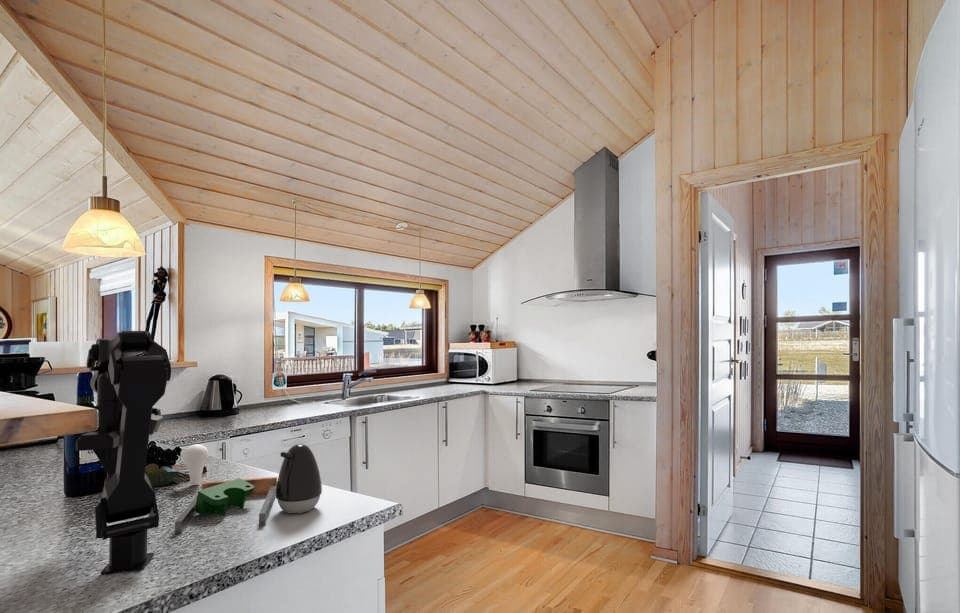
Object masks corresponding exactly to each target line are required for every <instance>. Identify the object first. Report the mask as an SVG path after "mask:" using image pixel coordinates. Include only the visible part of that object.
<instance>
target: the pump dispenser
mask: <svg viewBox="0 0 960 613" xmlns="http://www.w3.org/2000/svg"><path fill="white" fill-rule="evenodd" d="M280 457H281V458H283V461H282V463H281V466H280V470H279V473H278V476H277V487H276V497H275V499H276V500H277V503H278V505H279V507H280V509H281V510H282V511H283V512H285V513H287V514H288V513H289V514H292V513H293V514H294V515H296V514H295V513H299V514H304V513H307V512H309V511H311V510H312V509H314V508H315V507H316V506H317V504H318V503H319V500H320V497H321V495H322V493H323V487H322V479H321V474H320V469H319V465H318V462H317V459H316V457H315V455H314V452H313V451H312V449H311V448H310V447H309V446H308V445H306V444H303V443H299V444H295V445H293V446H291V447H290V448H289V449H288V451H287V452H286V451H285V452H284V451H282V452H280ZM303 512H304V513H303ZM293 514H292V515H293Z"/></svg>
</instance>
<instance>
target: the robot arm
mask: <svg viewBox="0 0 960 613" xmlns="http://www.w3.org/2000/svg"><path fill="white" fill-rule="evenodd" d="M141 353H145V355H139V354H141ZM86 358H87V359H86V364H85V365H86V369H88V371H89V372H95V373H94V374H93V375H92V376H91V379H90V381H89V382H90V383H89V384H90V388H91V390H92V391H93V392H94V393H95V394H96V405H94V406H92V409H93V408H97V409H98V410H99V428H98V430H96V431H93V432H92V431H89V432H87V433H84V434H81V435H80V436H79V437H78V438H77V439H76V440H75V451H77V452H80V451H81V452H82V451H93V452H94V454H95V456H96V457H97V458H98V460H99V462H100V464H101V465H102V467H103V469H104V470H105V472H106V474H107V476H106V477H105V479H104V486H103V489H102V497H100V498H99V499H98V502H97V505H96V506H95V507H94V521H95V538H96V539H102V541H106V540H107V539H109V541H108V542H109V544H108V545H109V548H108V553H109V554H108V563H106V565H105V566H104V567H103V569H101V571H100V575H110V574H117V573H127V572H134V571H135V572H136V571H137V572H139V571H142V570H144V569H145V567H146V566H147V565H148V564H149V562H150V561H151V560H152V559H153V558H154V557H155V556H154V555H155V553H154V552H149V553H148V530H150V529H157V528H159V522H160V513H159V509H158V504H157V498H156V497H157V496H156V493H155V489H154V488H153V487H152V484H151V482H150V479H149V477H148V475H147V474H146V467H147V458H148V449H149V439H150V436H153V434H155V433H157V432H158V430H159V428H160V425H161V424H162V423H163V422H164V416H163V415H162V413H161V409H160V408H157V407H155V405H156V404H157V403H158V402H159V401H160V400H161V399H162V397H164V395H165V393H166V388H167V382H170V380H171V376H172V366H171V361H170V358H169V355H168V350H167V349H166V348H164V347H163V346H161V345H160V344H159V343H157V342H156V341H154V340H153V337H152V334H151V332H150V331H146V330H121V331H119V332H116V335H115V337H113V338H97V339H96V340H95V343H92V345H91V346H90V348H89V349H88V353H87V357H86ZM96 371H97V372H96ZM141 517H142V518H141ZM127 520H128V521H127ZM108 524H109V525H108Z"/></svg>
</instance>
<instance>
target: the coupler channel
mask: <svg viewBox="0 0 960 613" xmlns="http://www.w3.org/2000/svg"><path fill="white" fill-rule="evenodd" d="M241 479H242V480H244V481H246V482H248V483H250V484H252V485H254V490H253V493H252V494H250V495H247V496H246V497H254V496H256V497H257V496H265V495H266V496H265V499H264V502H263V504H262V506H261V509H260V511H259V513H258V526H259V527H261V526H266V524H267V521H268V519H269V518H268V517H269V515H270V513H271V510H272V508H273V505H274V502H275V499H276V487H277V481H278V476H273V477H271V476H270V477H258V478H257V477H256V478H245V479H243V478H241ZM232 480H233V479H230V480H219V481H205V482H202V484H201V490H202V489H206V488H209V487H212V486H216V485H219V484H222V483H225V482H229V481H232ZM196 500H197V495H196V496H195V497H194V499H193V500H192V501H191V503H189V504H188V506H187V507H186V508H185V510H184V511H183V512H182V513H181V514H180V515H179V517H178V518H176V520H175V521H174V535H178V534H179V535H180V534H183V532H184V531H185V530H186V529H187V526H189V524H190V522H192V520H193V519H194V518H195V516H196V515H197V514H198V513H197V512H196V511H195V506H196Z"/></svg>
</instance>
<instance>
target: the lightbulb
mask: <svg viewBox="0 0 960 613" xmlns="http://www.w3.org/2000/svg"><path fill="white" fill-rule="evenodd" d="M208 458H209V451H208V449H207V447H206V446H205V445H203V444H200V443H199V444H197V443H195V444H191V445H189V446H188V447H187V448H186V449H185V450H184V452H183V455H182V459H183V463H184V464H185V466H186V468H187V470H188V475H189V480H190V481H189V483H190V484H191V485H193V486H197V485H198V484H200V483H201V482H202V475H203V470H204V466H205V464H206V463H207V461H208Z"/></svg>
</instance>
